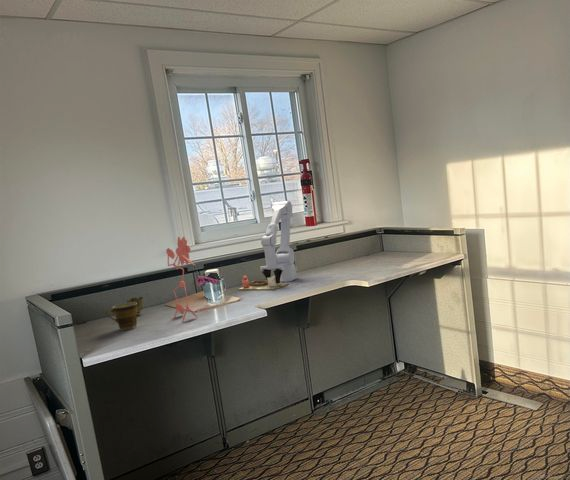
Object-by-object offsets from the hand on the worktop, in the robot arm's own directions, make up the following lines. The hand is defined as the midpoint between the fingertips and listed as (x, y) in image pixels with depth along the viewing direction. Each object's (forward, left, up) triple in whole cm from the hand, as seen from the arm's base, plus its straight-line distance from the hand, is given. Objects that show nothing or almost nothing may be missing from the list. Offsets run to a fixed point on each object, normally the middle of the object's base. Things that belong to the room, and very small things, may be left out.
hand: (273, 283), depth 269 cm
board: (+2, -5, -2) cm, 6 cm away
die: (0, 0, -1) cm, 1 cm away
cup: (+63, -34, -2) cm, 72 cm away
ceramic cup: (+83, -18, -2) cm, 85 cm away
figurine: (+60, -2, -2) cm, 60 cm away
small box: (+21, -24, -2) cm, 32 cm away
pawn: (+7, -14, -1) cm, 15 cm away
